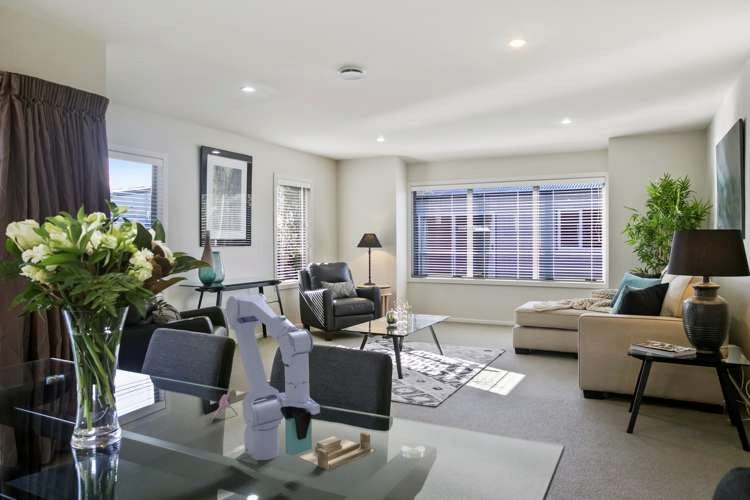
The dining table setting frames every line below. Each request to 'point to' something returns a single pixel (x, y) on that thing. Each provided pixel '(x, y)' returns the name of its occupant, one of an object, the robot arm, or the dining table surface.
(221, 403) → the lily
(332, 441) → the offcut stack
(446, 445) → the dining table surface
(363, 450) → the birch rack
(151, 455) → the dining table surface
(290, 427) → the teal panel
